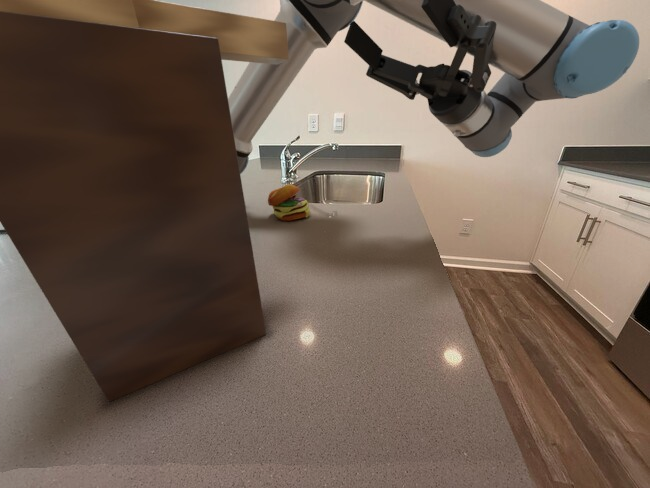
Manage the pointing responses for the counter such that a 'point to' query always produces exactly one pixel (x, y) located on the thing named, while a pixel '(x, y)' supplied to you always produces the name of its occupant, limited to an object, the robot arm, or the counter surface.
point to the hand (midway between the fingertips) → (381, 13)
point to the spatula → (173, 23)
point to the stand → (126, 193)
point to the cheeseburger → (288, 203)
